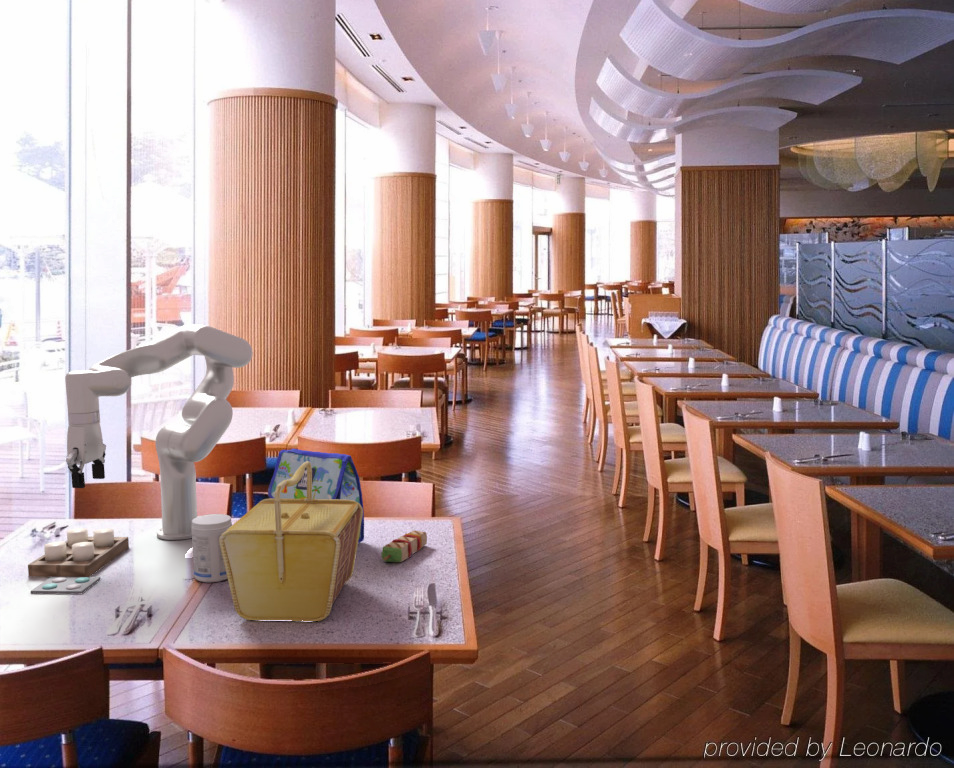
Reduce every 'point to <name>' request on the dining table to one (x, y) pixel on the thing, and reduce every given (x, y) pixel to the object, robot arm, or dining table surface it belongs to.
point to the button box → (78, 567)
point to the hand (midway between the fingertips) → (89, 483)
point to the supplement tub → (209, 547)
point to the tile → (66, 585)
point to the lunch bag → (318, 477)
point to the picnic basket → (291, 554)
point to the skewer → (404, 546)
